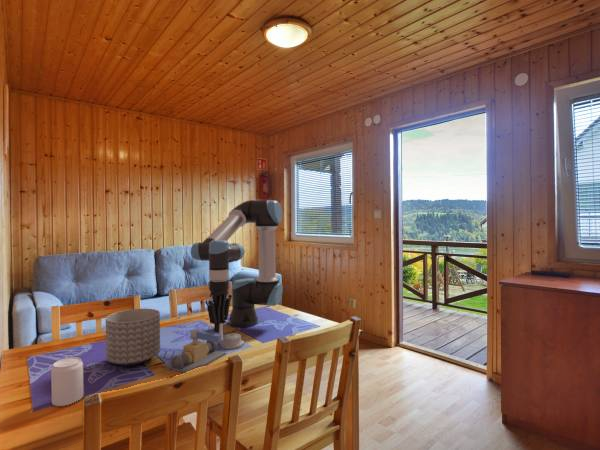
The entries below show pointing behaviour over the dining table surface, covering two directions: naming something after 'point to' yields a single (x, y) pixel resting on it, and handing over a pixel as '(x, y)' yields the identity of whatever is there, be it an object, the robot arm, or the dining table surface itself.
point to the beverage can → (67, 381)
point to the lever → (205, 336)
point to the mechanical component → (232, 341)
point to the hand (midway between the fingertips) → (219, 339)
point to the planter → (132, 336)
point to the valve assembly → (195, 356)
